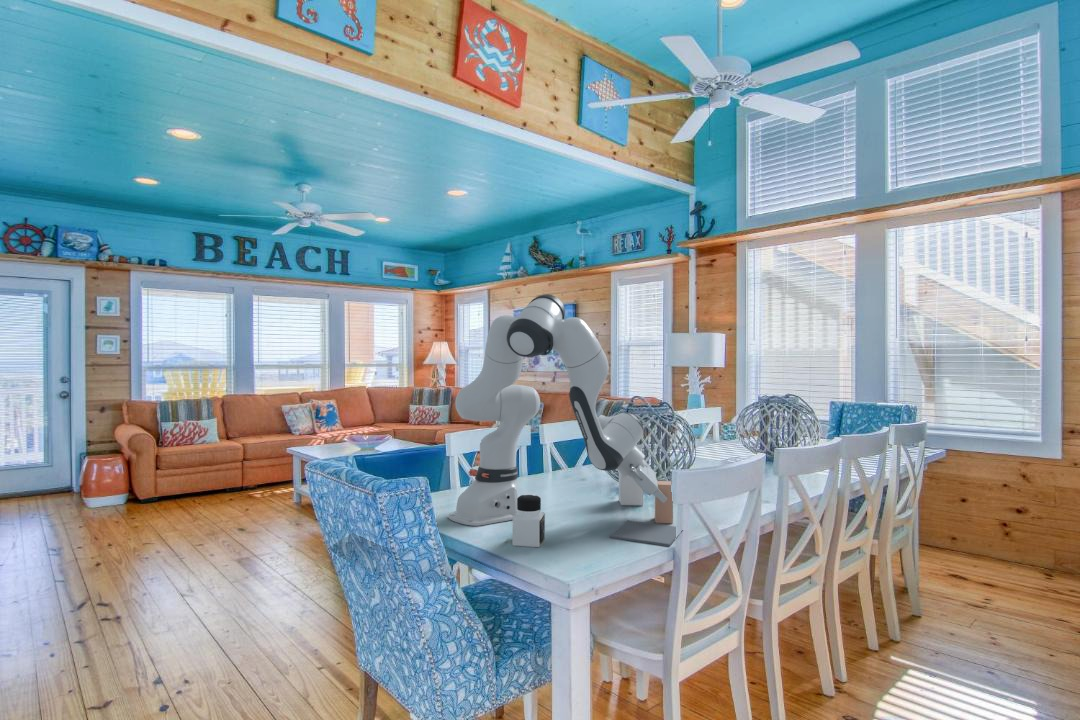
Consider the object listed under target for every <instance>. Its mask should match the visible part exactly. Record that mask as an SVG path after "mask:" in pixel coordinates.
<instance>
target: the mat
mask: <svg viewBox="0 0 1080 720" xmlns="http://www.w3.org/2000/svg"><path fill="white" fill-rule="evenodd" d="M676 527H677V526H674V525H673V526H672V525H666V524H661V523H652V522H651V523H650V522H645V521H644V522H643V521H635V520H626V521H625V522H623V523H622V525H620V526H619V527H618V528H617V529H616V530H614V531H613V532H612V533H611V534H609V535H608V536H609V538H610V539H614V538H615V540H621V539H622V541H628V540H629V542H635V541H636V543H642V542H644V543H643V544H649V543H650V544H649V545H657V546H665V547H671V546H672V544H674V542H675V541H676V540H675V538H676ZM676 539H677V538H676ZM637 541H638V542H637Z"/></svg>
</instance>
